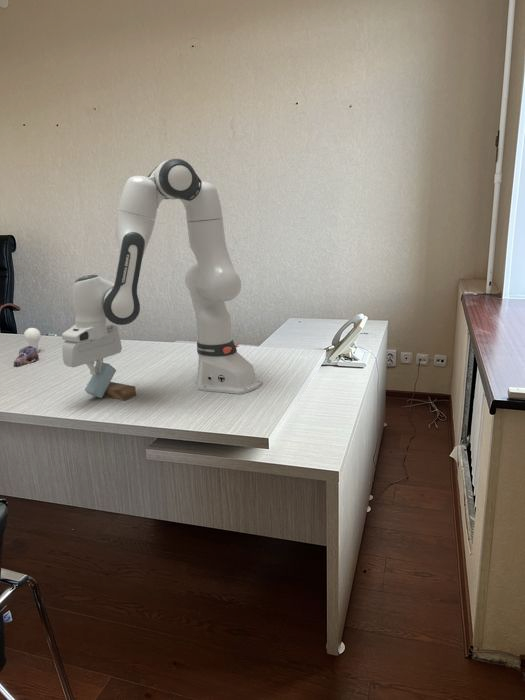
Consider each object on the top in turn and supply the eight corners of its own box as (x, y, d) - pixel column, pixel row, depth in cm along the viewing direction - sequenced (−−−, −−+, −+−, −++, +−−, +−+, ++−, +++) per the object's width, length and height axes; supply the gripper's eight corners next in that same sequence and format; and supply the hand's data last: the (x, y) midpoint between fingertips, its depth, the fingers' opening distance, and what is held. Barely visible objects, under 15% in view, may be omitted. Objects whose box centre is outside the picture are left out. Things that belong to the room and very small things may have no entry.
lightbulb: (39, 355, 215) (35, 329, 212) (23, 356, 215) (19, 329, 213) (45, 351, 221) (42, 325, 219) (30, 352, 222) (26, 326, 219)
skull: (22, 369, 199) (20, 353, 197) (5, 367, 201) (3, 352, 199) (43, 360, 210) (41, 345, 208) (27, 359, 212) (25, 344, 210)
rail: (136, 395, 166) (135, 386, 165) (124, 400, 162) (123, 391, 161) (100, 388, 174) (99, 379, 173) (88, 392, 170) (87, 383, 169)
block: (101, 398, 163) (116, 369, 168) (93, 392, 160) (109, 363, 164) (92, 396, 165) (107, 367, 170) (84, 390, 162) (100, 361, 166)
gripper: (109, 322, 170) (113, 363, 173) (56, 335, 153) (62, 381, 156) (124, 324, 166) (127, 366, 170) (72, 337, 149) (77, 384, 153)
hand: (95, 373), depth 163 cm, fingers closed
